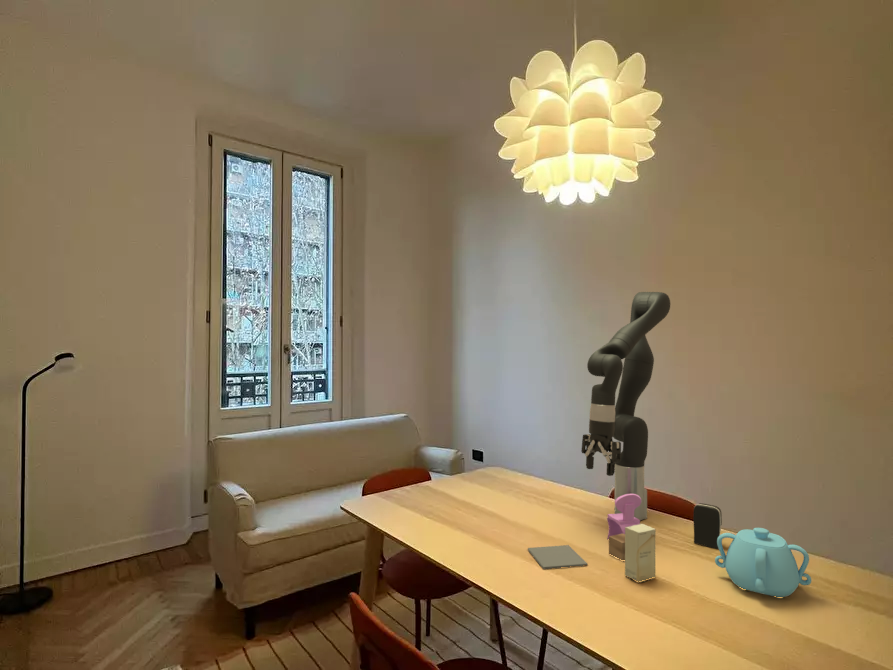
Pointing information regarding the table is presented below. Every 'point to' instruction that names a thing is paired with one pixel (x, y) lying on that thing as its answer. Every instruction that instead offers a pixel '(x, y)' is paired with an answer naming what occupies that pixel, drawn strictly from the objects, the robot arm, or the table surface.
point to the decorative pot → (762, 562)
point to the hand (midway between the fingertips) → (599, 472)
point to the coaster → (556, 556)
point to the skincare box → (640, 552)
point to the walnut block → (617, 546)
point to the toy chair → (623, 514)
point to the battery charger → (707, 524)
